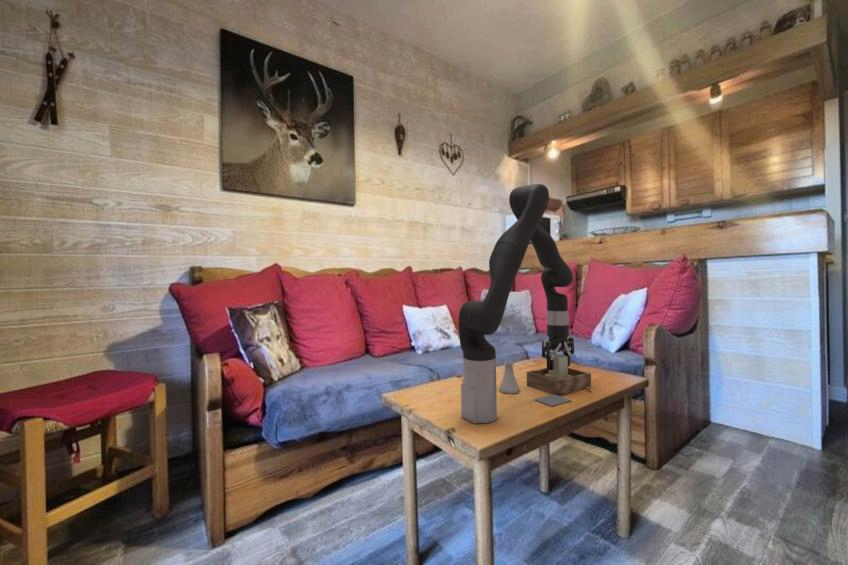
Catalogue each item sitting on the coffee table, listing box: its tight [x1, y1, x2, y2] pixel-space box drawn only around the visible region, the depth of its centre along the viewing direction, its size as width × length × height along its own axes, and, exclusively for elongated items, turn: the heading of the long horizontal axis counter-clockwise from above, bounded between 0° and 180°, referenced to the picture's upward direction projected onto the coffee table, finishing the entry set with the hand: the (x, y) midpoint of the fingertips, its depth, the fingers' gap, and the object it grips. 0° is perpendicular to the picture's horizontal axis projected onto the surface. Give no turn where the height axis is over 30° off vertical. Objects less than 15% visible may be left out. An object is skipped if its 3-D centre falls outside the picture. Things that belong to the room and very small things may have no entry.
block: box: [549, 353, 569, 378], centre depth 129 cm, size 4×4×7 cm
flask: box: [498, 361, 521, 394], centre depth 125 cm, size 7×7×10 cm
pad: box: [534, 394, 572, 408], centre depth 114 cm, size 9×7×1 cm
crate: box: [526, 367, 592, 397], centre depth 129 cm, size 17×14×5 cm
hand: (558, 367), depth 129 cm, fingers open, 8 cm apart
